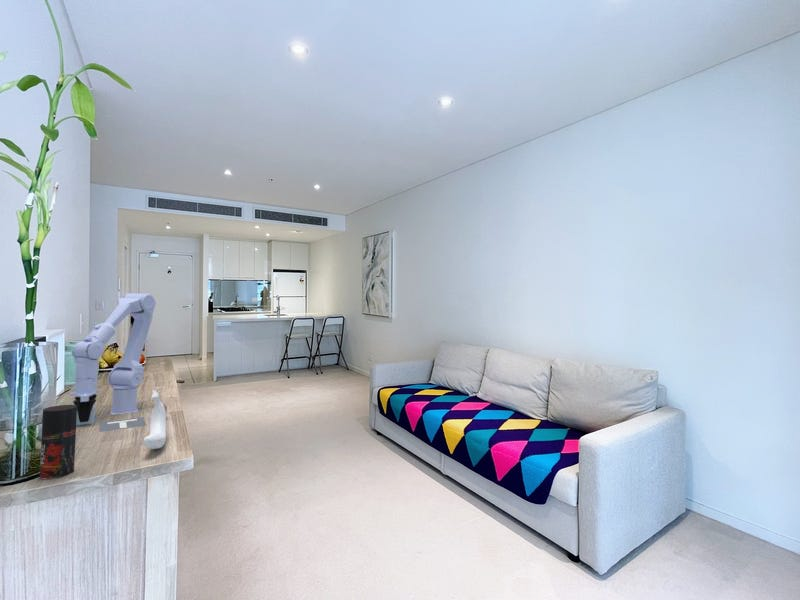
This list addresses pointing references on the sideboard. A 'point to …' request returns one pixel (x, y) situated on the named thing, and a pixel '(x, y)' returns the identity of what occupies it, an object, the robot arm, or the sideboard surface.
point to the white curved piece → (156, 425)
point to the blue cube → (91, 418)
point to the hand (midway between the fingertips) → (84, 419)
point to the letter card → (122, 424)
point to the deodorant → (58, 441)
